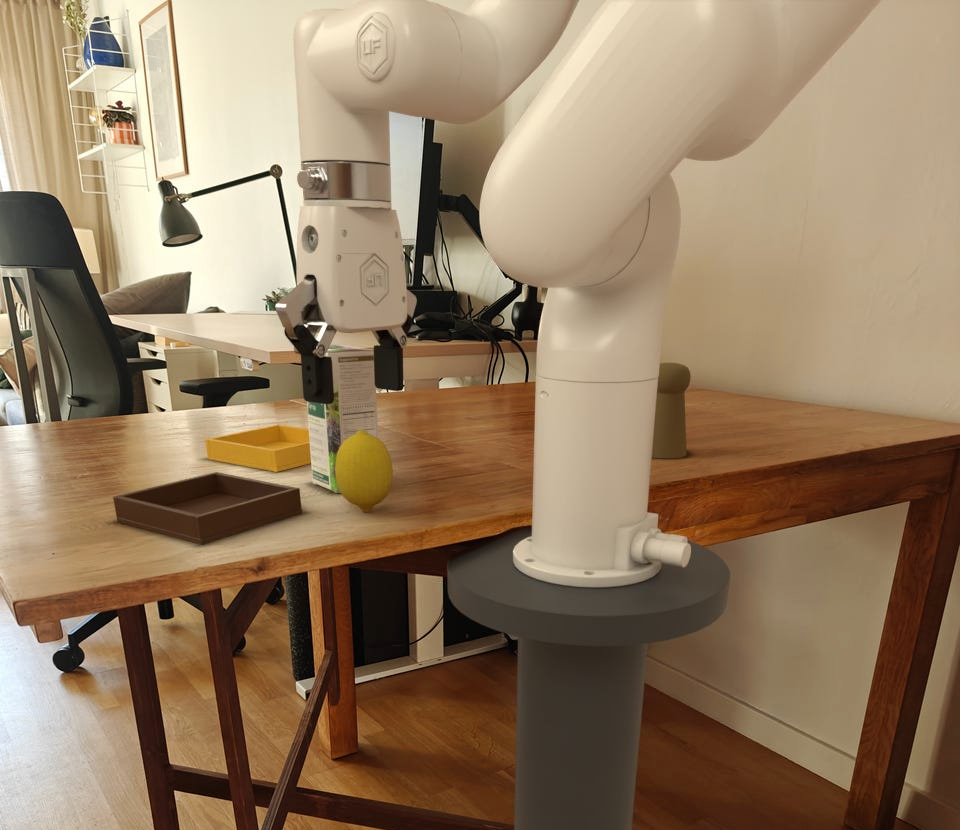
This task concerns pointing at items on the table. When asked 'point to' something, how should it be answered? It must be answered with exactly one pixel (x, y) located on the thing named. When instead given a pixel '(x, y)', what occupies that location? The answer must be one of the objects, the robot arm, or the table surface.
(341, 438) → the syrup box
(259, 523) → the brown tray
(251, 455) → the yellow tray
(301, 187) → the robot arm
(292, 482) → the table surface
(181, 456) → the table surface
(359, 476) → the lemon
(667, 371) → the cork
